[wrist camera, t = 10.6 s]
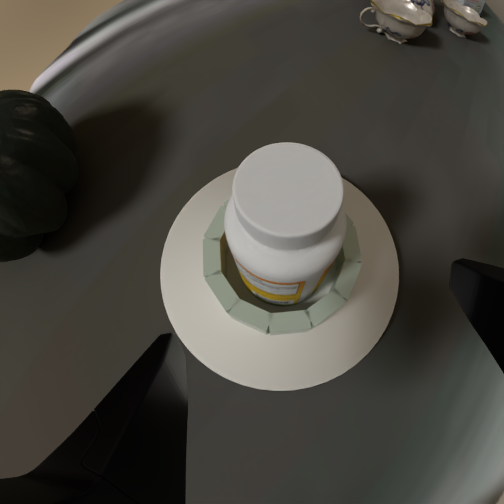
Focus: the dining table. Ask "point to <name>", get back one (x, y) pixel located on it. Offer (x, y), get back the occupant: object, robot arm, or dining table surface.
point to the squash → (32, 171)
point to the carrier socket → (274, 317)
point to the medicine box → (473, 4)
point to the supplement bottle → (285, 221)
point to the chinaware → (421, 18)
